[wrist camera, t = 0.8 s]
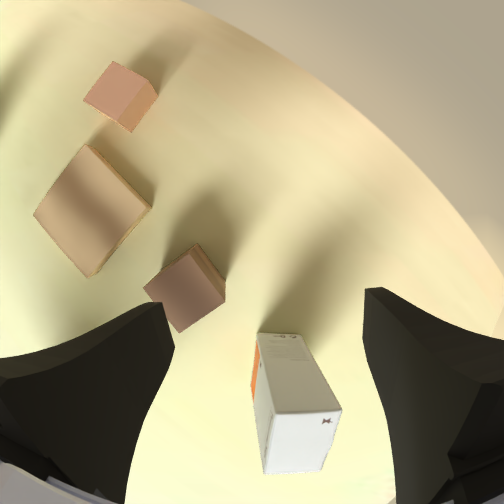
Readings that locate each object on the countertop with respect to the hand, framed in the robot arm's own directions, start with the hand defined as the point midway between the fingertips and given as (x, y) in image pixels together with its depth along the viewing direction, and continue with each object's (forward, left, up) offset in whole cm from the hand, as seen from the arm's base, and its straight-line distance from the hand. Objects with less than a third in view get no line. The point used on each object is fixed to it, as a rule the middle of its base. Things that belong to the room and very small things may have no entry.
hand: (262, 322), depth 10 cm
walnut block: (-4, +1, -16) cm, 16 cm away
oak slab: (-8, +11, -16) cm, 21 cm away
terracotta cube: (0, +17, -16) cm, 23 cm away
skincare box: (-3, -10, -16) cm, 19 cm away
